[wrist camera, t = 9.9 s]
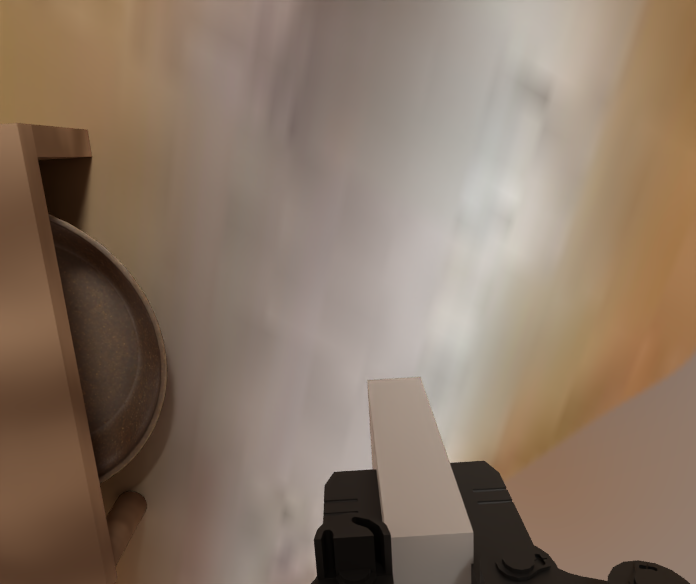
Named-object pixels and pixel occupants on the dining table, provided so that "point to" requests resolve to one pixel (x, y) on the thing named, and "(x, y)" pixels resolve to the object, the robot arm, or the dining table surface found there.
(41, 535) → the overhang shelf
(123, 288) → the saucer
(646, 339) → the dining table surface
